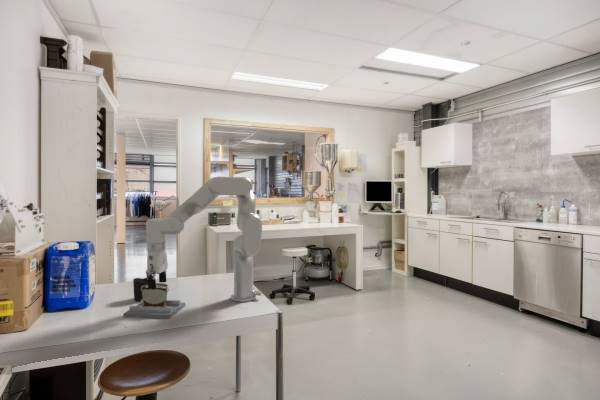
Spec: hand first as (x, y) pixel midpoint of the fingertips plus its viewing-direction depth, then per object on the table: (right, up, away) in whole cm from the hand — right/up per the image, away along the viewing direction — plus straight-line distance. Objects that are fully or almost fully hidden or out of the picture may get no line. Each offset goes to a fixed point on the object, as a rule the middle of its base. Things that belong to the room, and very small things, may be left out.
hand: (157, 285), depth 151 cm
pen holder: (-14, -11, +17) cm, 24 cm away
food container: (0, -10, +1) cm, 10 cm away
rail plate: (-1, -11, 0) cm, 11 cm away
